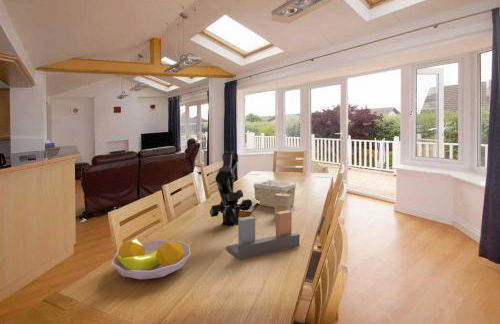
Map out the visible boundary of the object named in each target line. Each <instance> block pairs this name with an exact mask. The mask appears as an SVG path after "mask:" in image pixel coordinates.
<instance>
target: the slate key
mask: <svg viewBox="0 0 500 324" xmlns="http://www.w3.org/2000/svg"><path fill="white" fill-rule="evenodd" d="M237 230H238V231H237V232H238V236H237V237H238V239H237V240H238V244H239V245H242V244H247V243H251V242H255V240H256V217H254V216H252V215H251V216H245V217H240V218H238V225H237Z"/></svg>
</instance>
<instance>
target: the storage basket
mask: <svg viewBox="0 0 500 324" xmlns="http://www.w3.org/2000/svg"><path fill="white" fill-rule="evenodd" d="M253 188H254V200H255V199H256V200H258V201H260V205H259V206H263V207H268V208H274V209H275V194H278V193H280V194H289V195H291V207H292V206H294V204H295V195H296V188H297V184H296V183H295V182H288V181H278V180H272V179H265V180H260V181H257V182H254V183H253Z"/></svg>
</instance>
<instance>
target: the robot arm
mask: <svg viewBox="0 0 500 324" xmlns="http://www.w3.org/2000/svg"><path fill="white" fill-rule="evenodd" d="M238 163H239V154H238V153H236V152H234V151H224V152H223V153H222V166H221V167H220V168H219V169H218V172H217V173H216V176H215V183H216V186H217V190H218V193H219V197H220V203H219V204H213V205H212V206H211V208H210V210H209V214H210V217H211V218H214V217H218V216H219V214H220V213H221V214H222V223H221V225H223V226H224V225H225V226H232V227H233V226H234V225H235V226H238V218H239V213H240V212H241V211H243V212H245V211H248V210H250V209H251V207H252V205H253V201H252V199H250V198H248V199H242V200H241V203H239V200H240V199H241V198H242V197H244V193H243V190H242V189H237V191H235V192H234V180H235V178H236V175H235V169H236V168H237V167H238Z"/></svg>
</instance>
